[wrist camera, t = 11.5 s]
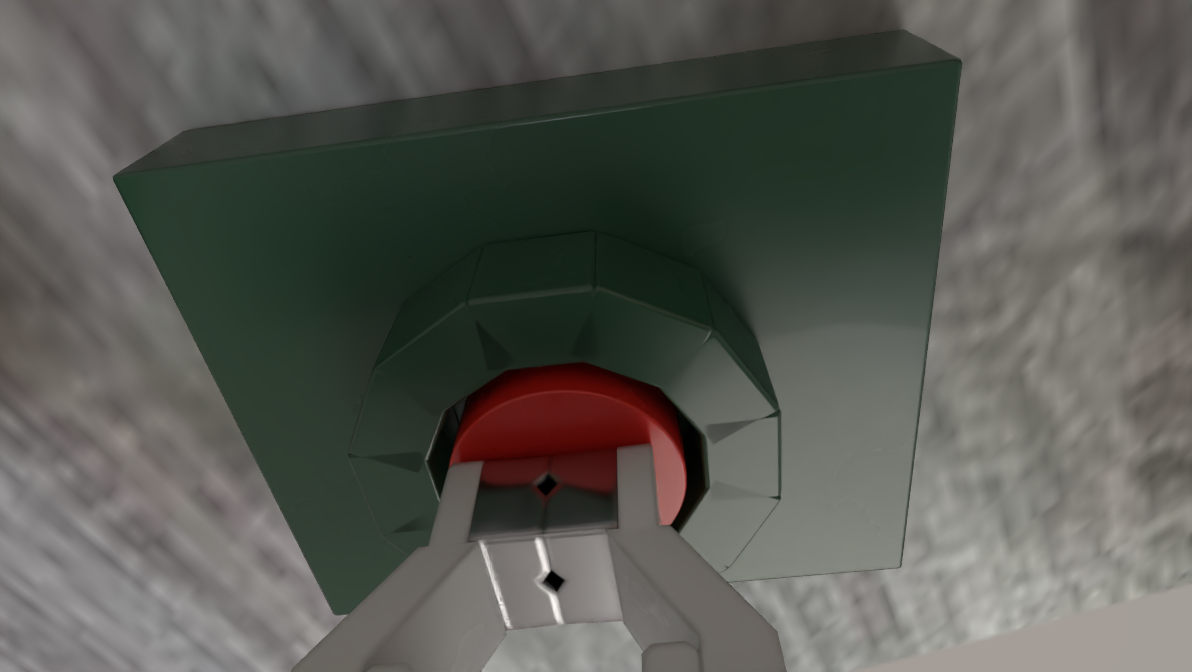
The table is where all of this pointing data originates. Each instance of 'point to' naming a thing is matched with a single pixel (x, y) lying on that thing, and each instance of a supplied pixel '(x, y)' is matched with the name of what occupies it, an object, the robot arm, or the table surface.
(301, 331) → the button box
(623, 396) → the button
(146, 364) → the table surface
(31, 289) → the table surface
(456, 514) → the robot arm
